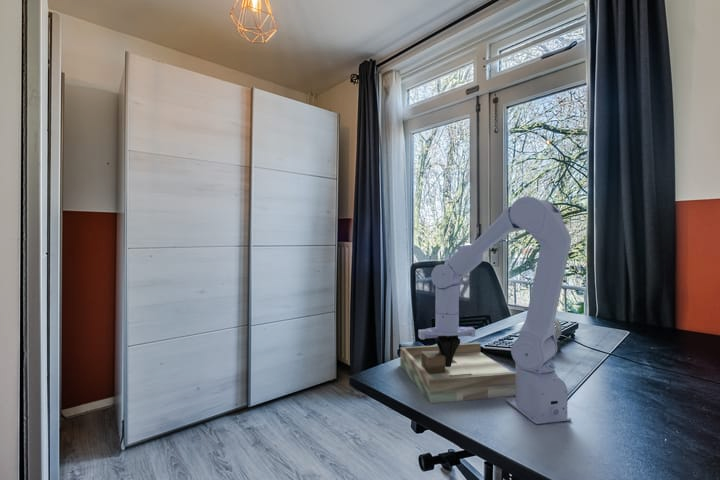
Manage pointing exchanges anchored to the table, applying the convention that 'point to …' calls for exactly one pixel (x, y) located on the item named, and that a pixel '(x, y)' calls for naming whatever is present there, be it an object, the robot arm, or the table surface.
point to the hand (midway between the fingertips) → (446, 365)
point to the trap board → (459, 375)
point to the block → (433, 362)
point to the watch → (558, 333)
